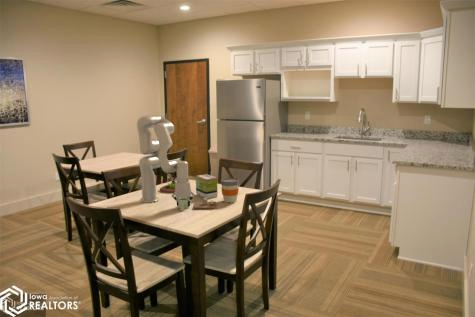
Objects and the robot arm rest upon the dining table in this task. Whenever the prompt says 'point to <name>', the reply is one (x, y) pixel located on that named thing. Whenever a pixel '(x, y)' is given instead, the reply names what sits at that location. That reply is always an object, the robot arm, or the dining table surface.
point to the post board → (204, 205)
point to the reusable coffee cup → (230, 189)
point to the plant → (169, 187)
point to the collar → (183, 203)
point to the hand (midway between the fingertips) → (183, 206)
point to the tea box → (206, 186)
